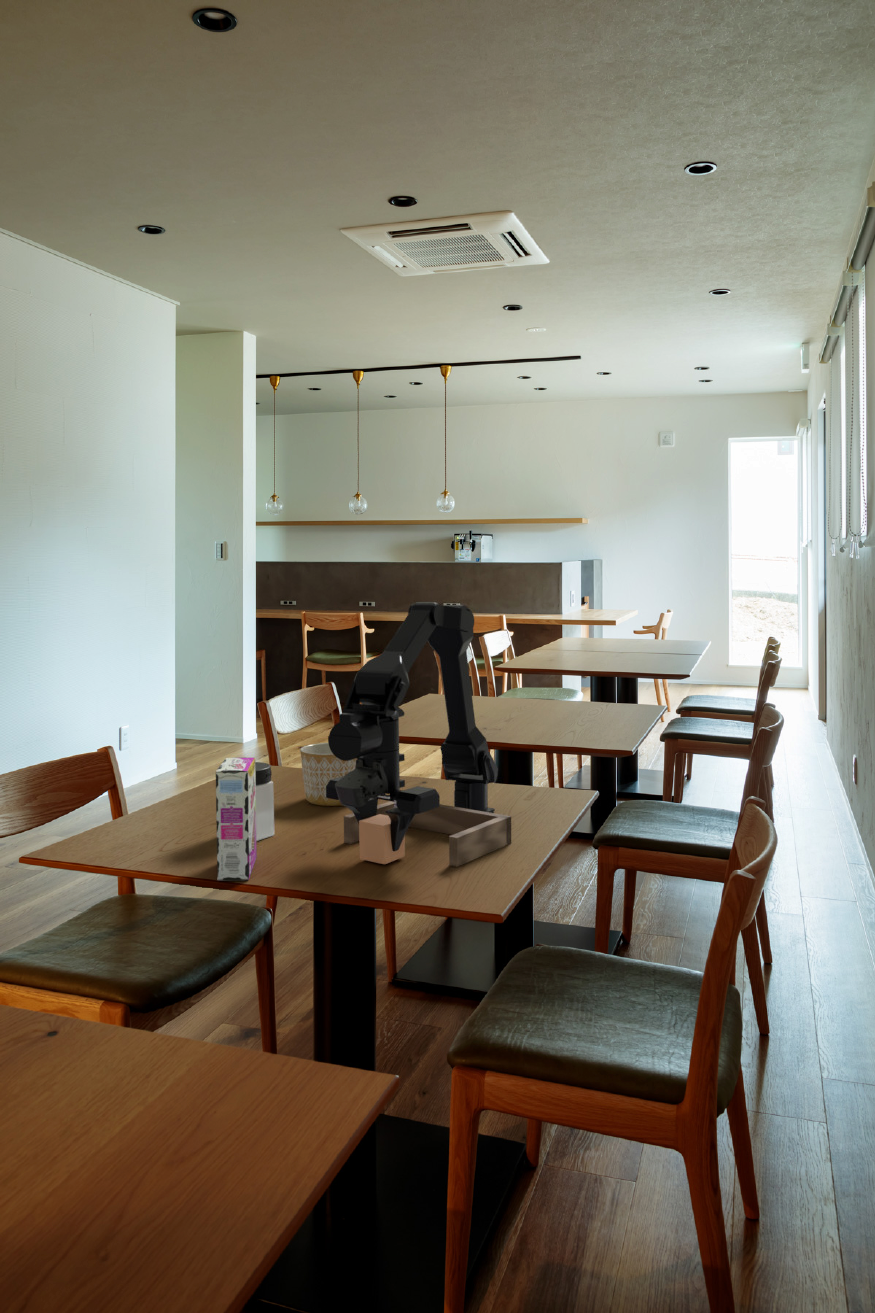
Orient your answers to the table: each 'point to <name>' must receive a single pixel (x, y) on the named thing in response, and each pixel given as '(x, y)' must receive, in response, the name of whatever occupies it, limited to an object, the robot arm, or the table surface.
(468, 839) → the walnut pen
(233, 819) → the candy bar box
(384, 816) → the terracotta block
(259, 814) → the jar
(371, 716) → the robot arm
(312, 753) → the planter
